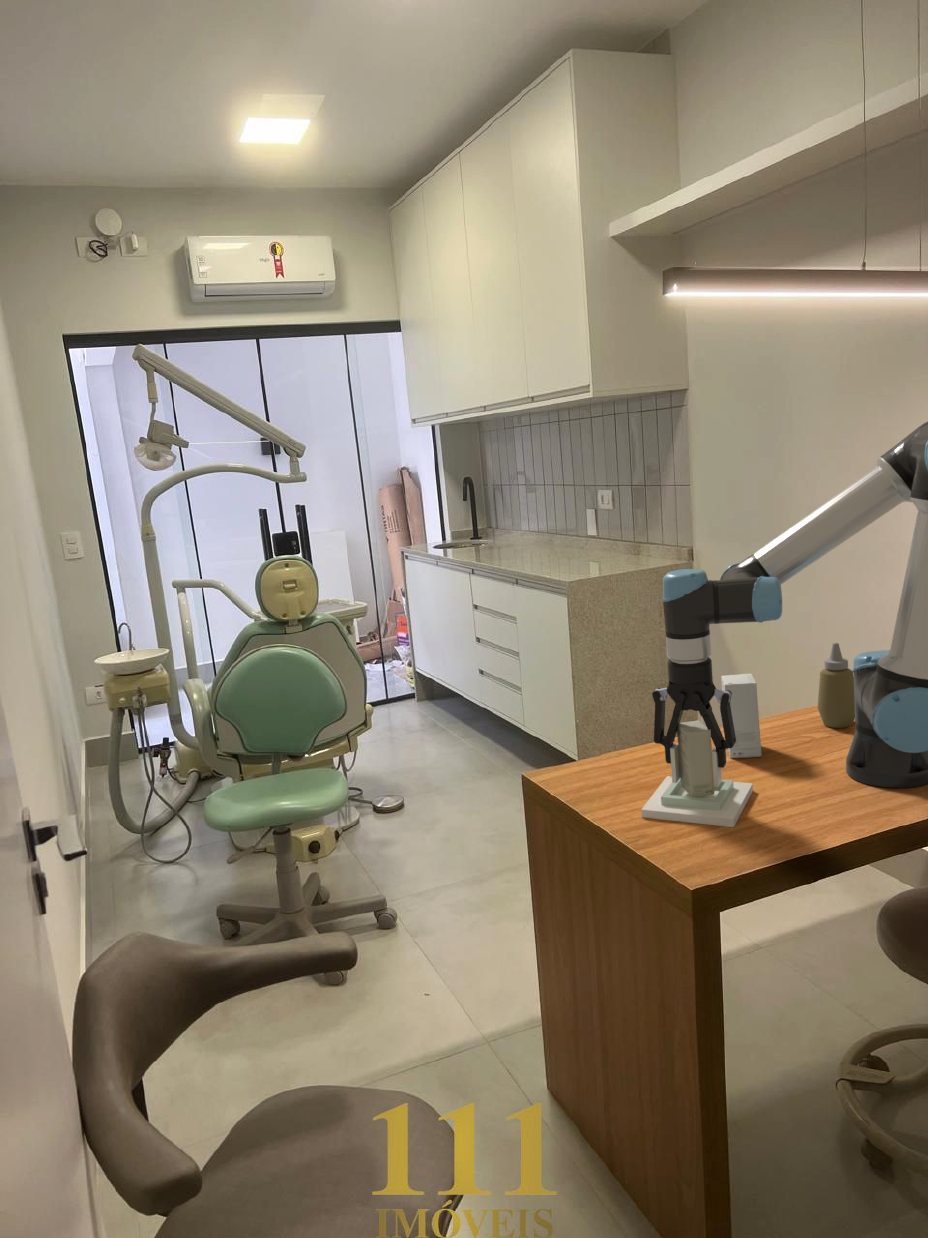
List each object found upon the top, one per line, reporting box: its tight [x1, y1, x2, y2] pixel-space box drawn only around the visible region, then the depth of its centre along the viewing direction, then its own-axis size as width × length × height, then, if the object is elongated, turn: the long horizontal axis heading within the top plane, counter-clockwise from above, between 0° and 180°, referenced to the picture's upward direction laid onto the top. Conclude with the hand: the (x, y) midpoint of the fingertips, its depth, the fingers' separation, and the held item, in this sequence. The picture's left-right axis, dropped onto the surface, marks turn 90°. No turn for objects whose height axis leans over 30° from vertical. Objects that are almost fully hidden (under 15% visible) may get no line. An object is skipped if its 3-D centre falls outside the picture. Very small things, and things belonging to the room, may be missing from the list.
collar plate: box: [641, 775, 754, 828], centre depth 162 cm, size 16×16×3 cm
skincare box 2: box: [720, 673, 762, 759], centre depth 183 cm, size 8×7×16 cm
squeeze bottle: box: [817, 642, 855, 729], centre depth 192 cm, size 8×8×18 cm
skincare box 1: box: [676, 719, 714, 797], centre depth 160 cm, size 6×4×12 cm
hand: (696, 781), depth 161 cm, fingers closed on skincare box 1, 7 cm apart
